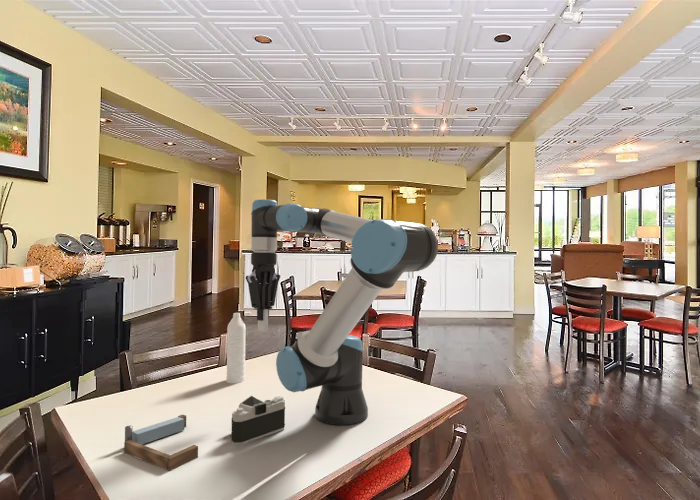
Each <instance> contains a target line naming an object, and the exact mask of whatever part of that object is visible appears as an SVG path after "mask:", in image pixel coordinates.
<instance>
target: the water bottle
mask: <svg viewBox="0 0 700 500" xmlns="http://www.w3.org/2000/svg"><path fill="white" fill-rule="evenodd" d="M243 313H244V316H252V311H244V312H243ZM246 330H247V328H246V323H245V322H244V320H243V319H242V318H241V313H240V312H234V313H233V314H232V318H231V320H230V321H229V323H228V324H227V329H226V332H227V335H226V337H227V338H226V340H227V341H226V342H227V343H226V359H227V360H226V383H228V384H241V383H243V382H245V381H246V336H247V335H246V332H247V331H246Z"/></svg>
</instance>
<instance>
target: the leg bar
mask: <svg viewBox="0 0 700 500" xmlns="http://www.w3.org/2000/svg"><path fill="white" fill-rule="evenodd" d="M181 431H185V428H184V419H183V418H180V417H178V416H177V417H173V418H170V419H168V420H165V421H162V422H161V421H160V422H157V423H155V424H152V425H148V426H145V427H142V428H140V429H139V428H138V429H136V430H132V441H133V442H136V443H139V444H141V445H144V444H148V443H150V442H153V441H156V440H159V439H161V438H164V437H168V436H170V435H174V434H176V433H180V432H181Z"/></svg>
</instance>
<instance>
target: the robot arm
mask: <svg viewBox="0 0 700 500" xmlns="http://www.w3.org/2000/svg"><path fill="white" fill-rule="evenodd" d="M251 204H252V205H251V214H250V215H251V243H250V244H251V245H250V246H251V247H250V248H251V251H253V252H251V253H250V265H252V266H253V267H252V269H251V273H250V274H249V275H246V276H245V280H246V282H247V285H248V291H249V297H250V305H251V308H253V309H254V310H256V321H257V332H261V333H262V332H264V333H265V332H268V331H269V319H270V310H272V309H273V307H274V306H275V303H276V302H275V301H276V297H277V291H278V285H279V282H280V278H281V274H278V273H276V269H275V266H276V265H277V263H278V262H277V257H278V255H277V252H276V251H277V250H278V232H289V233H292V232H293V233H295V232H296V233H311V234H319V235H322V236H326V237H331V238H333V239H338V240H340V241H344V242H348V243H350V246H352V248H351V249H350V255H351V257H350V260H349V261H350V262H349V263H350V266H351V269H350V271H348V274H347V275H346V276H345V278H344V279H343V281H342V283H341V284H340V285H339V287H338V288H337V290H336V292H335V293H334V294H333V296H332V297H331V299H330V300H329V302H328V303H327V305H326V306H325V308H324V309H323V311H322V312H321V314H320V315H319V316H318V318H317V319H316V321H315V323H314V324H313V326H312V327H311V328H310V329H309V330H306V331H303V332H302V333H300V335H299V336H298V337H297V339H296V340H295V342H294V343H293V344H292V345H291V346H290V345H289V346H288V345H287V346H285V347H283V348H281V349H280V350H278V353H277V355H276V362H275V368H276V373H277V376H278V379H279V381H280V383H281V385H282V386H283V387H284V388H285V389H286V390H287V391H289V392H292V393H298V392H305V391H307V390H311V389H314V388H318V387H321V390H320V392H319V396H318V399H317V401H316V404H315V408H314V415H315V418H316V419H317V420H318V421H320V422H322V423H325V424H330V425H337V426H338V425H340V426H342V425H343V426H345V425H355V424H358V423H361V422H363V421H365V420H366V419H367V418H368V416H369V408H368V403H367V401H366V398H365V394H364V390H363V359H364V357H363V356H364V355H363V354H364V350H363V341H362V340H361V338H360V337H359V336H355V335H351V333H352V331H353V330H354V328H355V327H356V326H357V324H358V323H359V322H360V320H361V319H362V317H363V316H364V315H365V313H366V312H367V311H368V309H369V308H370V307H371V305H372V304H373V302H374V301H375V300H376V298H377V297H378V296H379V294H380V293H381V292H382V290H390V289H392V287H394V285H395V284H396V283H397V281H398V280H399V278H400V277H401V276H402V275H403V273H410V272H420V271H423V270H425V269H426V268H428V267H429V266H430V265H432V263H433V262H434V261H435V260H436V258H437V255H438V251H439V243H438V239H437V236H436V234H435V233H434V232H433V230H432V229H431V228H430V227H429V226H427V225H425V224H422V223H419V222H411V221H398V220H394V219H389V218H380V219H370V218H364V217H360V216H356V215H351V214H347V213H344V212H337V211H335V210H333V209H329V208H319V207H309V206H303V205H300V204H298V203H286V204H280V205H278V201H276V200H275V199H268V198H267V199H265V198H264V199H263V198H262V199H255V200H253V202H252V203H251Z"/></svg>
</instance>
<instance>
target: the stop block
mask: <svg viewBox="0 0 700 500" xmlns="http://www.w3.org/2000/svg"><path fill="white" fill-rule="evenodd" d="M177 417H180V418H183V419H184V429H185V428H186V427H187V415H185V414H180V415H178V416H177Z"/></svg>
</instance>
